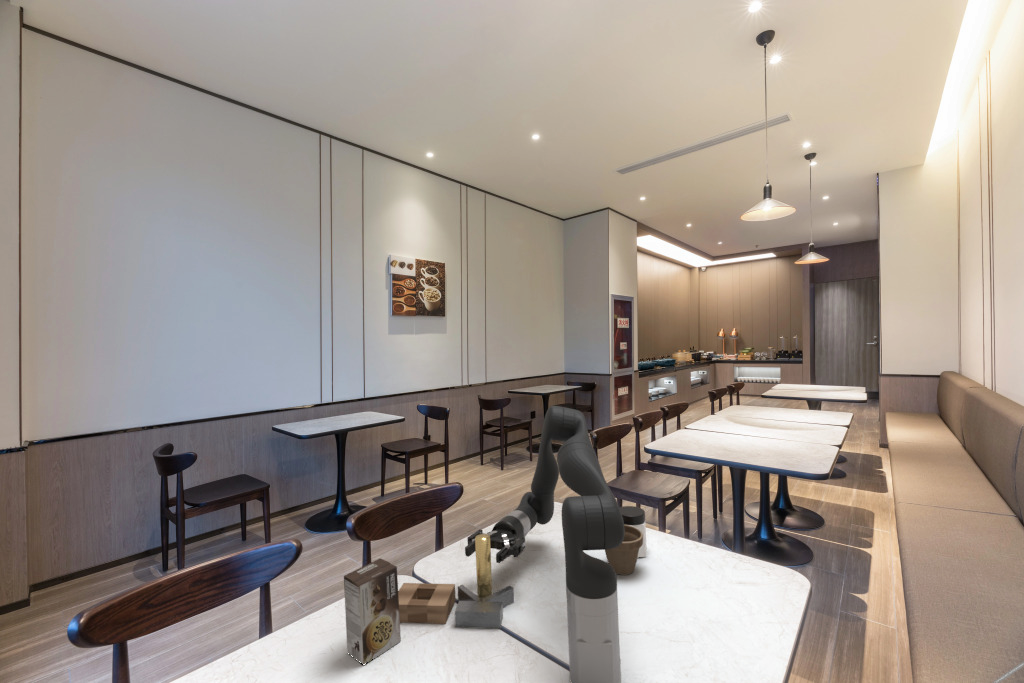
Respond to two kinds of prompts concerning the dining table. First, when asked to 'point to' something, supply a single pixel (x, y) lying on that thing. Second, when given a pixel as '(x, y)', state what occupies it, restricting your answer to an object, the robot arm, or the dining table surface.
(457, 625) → the v block
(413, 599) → the hollow rectangular block
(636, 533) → the flower pot
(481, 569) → the axle
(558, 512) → the dining table surface
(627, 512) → the jar
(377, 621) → the coffee box
